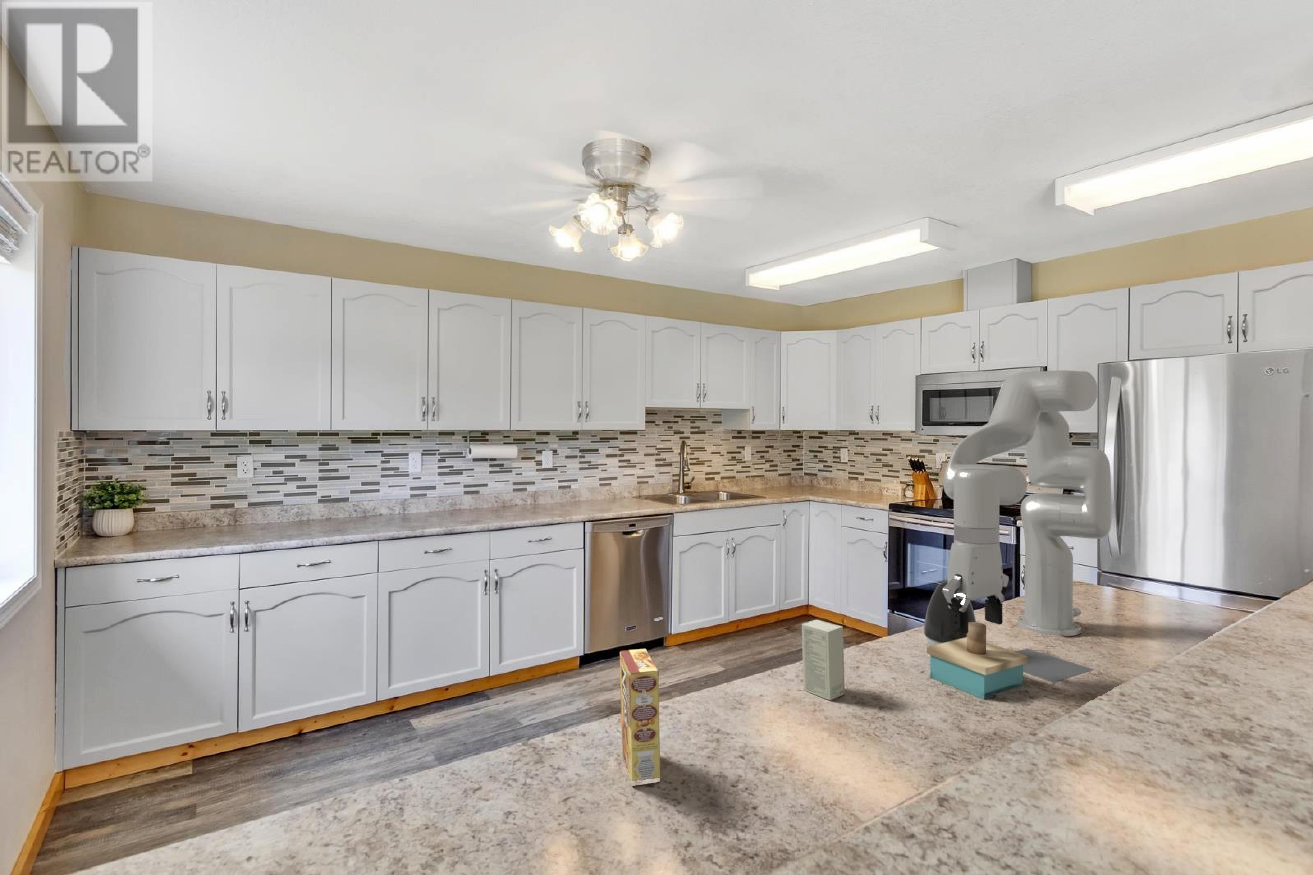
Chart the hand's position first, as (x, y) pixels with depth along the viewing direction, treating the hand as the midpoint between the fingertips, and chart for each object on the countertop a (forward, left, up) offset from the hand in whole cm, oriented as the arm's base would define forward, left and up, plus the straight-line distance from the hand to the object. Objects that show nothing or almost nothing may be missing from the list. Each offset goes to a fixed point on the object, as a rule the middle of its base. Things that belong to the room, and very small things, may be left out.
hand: (976, 626), depth 117 cm
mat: (-18, +1, -10) cm, 20 cm away
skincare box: (+28, -10, -10) cm, 32 cm away
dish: (0, 0, -10) cm, 10 cm away
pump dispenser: (-8, -12, -10) cm, 18 cm away
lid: (0, 0, -6) cm, 6 cm away
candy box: (+68, -3, -10) cm, 69 cm away
